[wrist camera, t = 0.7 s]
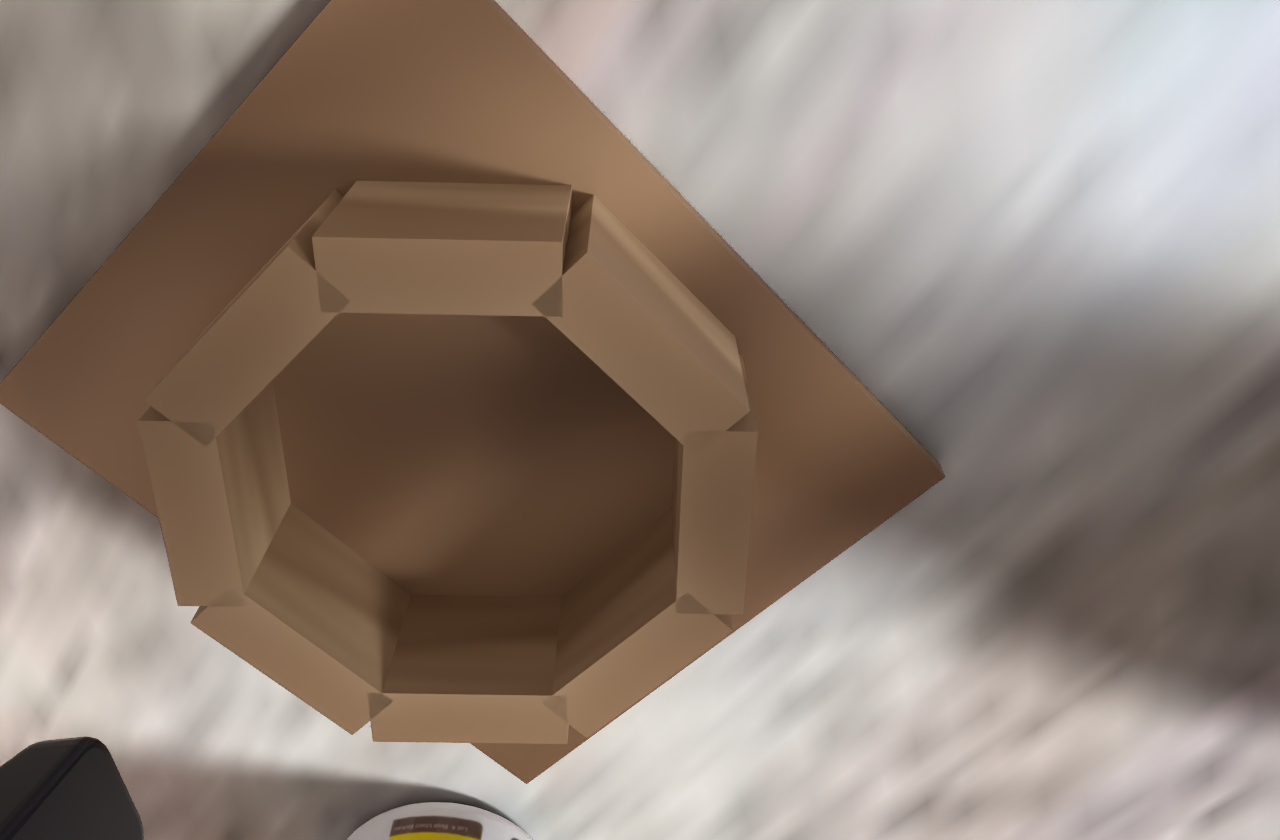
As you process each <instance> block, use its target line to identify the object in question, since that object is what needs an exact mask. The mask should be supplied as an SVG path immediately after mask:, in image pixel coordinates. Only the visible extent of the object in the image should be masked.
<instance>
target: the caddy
mask: <svg viewBox="0 0 1280 840" xmlns="http://www.w3.org/2000/svg"><path fill="white" fill-rule="evenodd" d="M0 404H2V405H3V406H4V407H6V408H7V409H8V410H10V411H11V412H13V413H14V414H15V415H17V416H18V417H20V418H21V419H22V420H24V421H25V422H26V423H28V424H29V425H31V426H32V427H33V428H35V429H36V430H37V431H39V432H40V433H42V434H43V435H44V436H46V437H47V438H49V439H50V440H51V441H53V442H54V443H55V444H57V445H58V446H60V447H61V448H62V449H64V450H65V451H67V452H68V453H69V454H71V455H72V456H73V457H75V458H76V459H78V460H79V461H80V462H82V463H83V464H85V465H86V466H87V467H89V468H90V469H91V470H93V471H94V472H96V473H97V474H98V475H100V476H101V477H103V478H104V479H105V480H107V481H108V482H109V483H111V484H112V485H114V486H115V487H116V488H118V489H119V490H120V491H122V492H123V493H125V494H126V495H127V496H129V497H130V498H132V499H133V500H134V501H136V502H137V503H138V504H140V505H141V506H143V507H144V508H145V509H147V510H148V511H150V512H151V513H152V514H154V515H155V516H156V517H158V518H159V520H160V525H161V529H162V534H163V539H164V543H165V548H166V553H167V557H168V562H169V567H170V571H171V576H172V580H173V585H174V590H175V594H176V599H177V604H178V606H200V607H199V609H198V610H197V612H196V614H195V616H194V618H193V619H192V621H191V624H193V625H194V626H196V627H197V628H198V629H200V630H201V631H203V632H204V633H206V634H207V635H209V636H210V637H211V638H213V639H214V640H216V641H217V642H219V643H220V644H222V645H223V646H224V647H226V648H227V649H229V650H230V651H232V652H233V653H235V654H236V655H237V656H239V657H240V658H242V659H243V660H245V661H246V662H248V663H249V664H250V665H252V666H253V667H255V668H256V669H258V670H259V671H261V672H262V673H263V674H265V675H266V676H268V677H269V678H271V679H272V680H274V681H275V682H276V683H278V684H279V685H281V686H282V687H284V688H285V689H287V690H288V691H289V692H291V693H292V694H294V695H295V696H297V697H298V698H300V699H301V700H302V701H304V702H305V703H307V704H308V705H310V706H311V707H313V708H314V709H315V710H317V711H318V712H320V713H321V714H323V715H324V716H326V717H327V718H328V719H330V720H331V721H333V722H334V723H336V724H337V725H339V726H340V727H341V728H343V729H344V730H346V731H347V732H349V733H350V734H352V735H353V734H354V733H355V732H357V731H358V730H359V729H360V728H362V727H363V726H364V725H365V724H366V723H368V722H369V721H371V729H372V738H373V741H378V742H451V743H470V744H472V745H473V746H475V747H476V748H477V749H479V750H480V751H482V752H483V753H484V754H486V755H487V756H488V757H490V758H491V759H493V760H494V761H495V762H497V763H498V764H500V765H501V766H502V767H504V768H505V769H506V770H508V771H509V772H511V773H512V774H513V775H515V776H516V777H518V778H519V779H520V780H522V781H523V782H524V783H526V784H527V783H529V782H530V781H531V780H533V779H534V778H536V777H537V776H538V775H540V774H541V773H542V772H544V771H545V770H546V769H548V768H549V767H551V766H552V765H553V764H555V763H556V762H557V761H559V760H560V759H561V758H563V757H564V756H566V755H567V754H568V753H570V752H571V751H572V750H574V749H575V748H576V747H578V746H579V745H581V744H582V743H583V742H585V741H586V740H587V739H589V738H590V737H591V736H593V735H594V734H596V733H597V732H598V731H600V730H601V729H602V728H604V727H605V726H606V725H608V724H609V723H611V722H612V721H613V720H615V719H616V718H617V717H619V716H620V715H621V714H623V713H624V712H626V711H627V710H628V709H630V708H631V707H632V706H634V705H635V704H636V703H638V702H639V701H641V700H642V699H643V698H645V697H646V696H647V695H649V694H650V693H651V692H653V691H654V690H656V689H657V688H658V687H660V686H661V685H662V684H664V683H665V682H666V681H668V680H669V679H671V678H672V677H673V676H675V675H676V674H677V673H679V672H680V671H681V670H683V669H684V668H685V667H687V666H688V665H690V664H691V663H692V662H694V661H695V660H696V659H698V658H699V657H700V656H702V655H703V654H705V653H706V652H707V651H709V650H710V649H711V648H713V647H714V646H715V645H717V644H718V643H720V642H721V641H722V640H724V639H725V638H726V637H728V636H729V635H730V634H732V633H733V632H735V631H736V630H737V629H739V628H740V627H741V626H743V625H744V624H745V623H747V622H748V621H750V620H751V619H752V618H754V617H755V616H756V615H758V614H759V613H760V612H762V611H763V610H765V609H766V608H767V607H769V606H770V605H771V604H773V603H774V602H775V601H777V600H778V599H780V598H781V597H782V596H784V595H785V594H786V593H788V592H789V591H790V590H792V589H793V588H795V587H796V586H797V585H799V584H800V583H801V582H803V581H804V580H805V579H807V578H808V577H810V576H811V575H812V574H814V573H815V572H816V571H818V570H819V569H820V568H822V567H823V566H824V565H826V564H827V563H829V562H830V561H831V560H833V559H834V558H835V557H837V556H838V555H839V554H841V553H842V552H844V551H845V550H846V549H848V548H849V547H850V546H852V545H853V544H854V543H856V542H857V541H859V540H860V539H861V538H863V537H864V536H865V535H867V534H868V533H869V532H871V531H872V530H874V529H875V528H876V527H878V526H879V525H880V524H882V523H883V522H884V521H886V520H887V519H889V518H890V517H891V516H893V515H894V514H895V513H897V512H898V511H899V510H901V509H902V508H904V507H905V506H906V505H908V504H909V503H910V502H912V501H913V500H914V499H916V498H917V497H919V496H920V495H921V494H923V493H924V492H925V491H927V490H928V489H929V488H931V487H932V486H934V485H935V484H936V483H938V482H939V481H940V480H942V479H943V478H944V477H945V475H944V473H943V471H942V469H941V466H940V464H939V463H938V462H937V461H936V460H935V459H934V458H933V457H932V456H931V455H930V454H929V453H928V452H927V451H926V450H925V449H924V448H923V446H922V445H921V444H920V443H919V442H918V441H917V440H916V439H915V438H914V437H913V436H912V435H911V434H910V433H909V432H908V431H907V430H906V429H905V428H904V427H903V426H902V425H901V424H900V423H899V421H898V420H897V419H896V418H895V417H894V416H893V415H892V414H891V413H890V412H889V411H888V410H887V409H886V408H885V407H884V406H883V405H882V404H881V403H880V402H879V401H878V400H877V399H876V398H875V396H874V395H873V394H872V393H871V392H870V391H869V390H868V389H867V388H866V387H865V386H864V385H863V384H862V383H861V382H860V381H859V380H858V379H857V378H856V377H855V376H854V375H853V374H852V373H851V371H850V370H849V369H848V368H847V367H846V366H845V365H844V364H843V363H842V362H841V361H840V360H839V359H838V358H837V357H836V356H835V355H834V354H833V353H832V352H831V351H830V350H829V349H828V348H827V346H826V345H825V344H824V343H823V342H822V341H821V340H820V339H819V338H818V337H817V336H816V335H815V334H814V333H813V332H812V331H811V330H810V329H809V328H808V327H807V326H806V325H805V324H804V322H803V321H802V320H801V319H800V318H799V317H798V316H797V315H796V314H795V313H794V312H793V311H792V310H791V309H790V308H789V307H788V306H787V305H786V304H785V303H784V302H783V301H782V300H781V299H780V297H779V296H778V295H777V294H776V293H775V292H774V291H773V290H772V289H771V288H770V287H769V286H768V285H767V284H766V283H765V282H764V281H763V280H762V279H761V278H760V277H759V276H758V275H757V274H756V272H755V271H754V270H753V269H752V268H751V267H750V266H749V265H748V264H747V263H746V262H745V261H744V260H743V259H742V258H741V257H740V256H739V255H738V254H737V253H736V252H735V251H734V250H733V249H732V247H731V246H730V245H729V244H728V243H727V242H726V241H725V240H724V239H723V238H722V237H721V236H720V235H719V234H718V233H717V232H716V231H715V230H714V229H713V228H712V227H711V226H710V225H709V224H708V222H707V221H706V220H705V219H704V218H703V217H702V216H701V215H700V214H699V213H698V212H697V211H696V210H695V209H694V208H693V207H692V206H691V205H690V204H689V203H688V202H687V201H686V200H685V199H684V197H683V196H682V195H681V194H680V193H679V192H678V191H677V190H676V189H675V188H674V187H673V186H672V185H671V184H670V183H669V182H668V181H667V180H666V179H665V178H664V177H663V176H662V175H661V174H660V172H659V171H658V170H657V169H656V168H655V167H654V166H653V165H652V164H651V163H650V162H649V161H648V160H647V159H646V158H645V157H644V156H643V155H642V154H641V153H640V152H639V151H638V150H637V148H636V147H635V146H634V145H633V144H632V143H631V142H630V141H629V140H628V139H627V138H626V137H625V136H624V135H623V134H622V133H621V132H620V131H619V130H618V129H617V128H616V127H615V126H614V125H613V123H612V122H611V121H610V120H609V119H608V118H607V117H606V116H605V115H604V114H603V113H602V112H601V111H600V110H599V109H598V108H597V107H596V106H595V105H594V104H593V103H592V102H591V101H590V100H589V98H588V97H587V96H586V95H585V94H584V93H583V92H582V91H581V90H580V89H579V88H578V87H577V86H576V85H575V84H574V83H573V82H572V81H571V80H570V79H569V78H568V77H567V76H566V75H565V73H564V72H563V71H562V70H561V69H560V68H559V67H558V66H557V65H556V64H555V63H554V62H553V61H552V60H551V59H550V58H549V57H548V56H547V55H546V54H545V53H544V52H543V51H542V50H541V48H540V47H539V46H538V45H537V44H536V43H535V42H534V41H533V40H532V39H531V38H530V37H529V36H528V35H527V34H526V33H525V32H524V31H523V30H522V29H521V28H520V27H519V26H518V25H517V23H516V22H515V21H514V20H513V19H512V18H511V17H510V16H509V15H508V14H507V13H506V12H505V11H504V10H503V9H502V8H501V7H500V6H499V5H498V4H497V3H496V2H495V1H494V0H331V1H330V2H329V3H328V4H327V5H326V7H325V8H324V9H323V10H322V11H321V12H320V14H319V15H318V16H317V17H316V18H315V19H314V20H313V22H312V23H311V24H310V25H309V26H308V27H307V29H306V30H305V31H304V32H303V33H302V34H301V36H300V37H299V38H298V39H297V40H296V41H295V43H294V44H293V45H292V46H291V47H290V48H289V49H288V51H287V52H286V53H285V54H284V55H283V56H282V58H281V59H280V60H279V61H278V62H277V63H276V65H275V66H274V67H273V68H272V69H271V70H270V71H269V73H268V74H267V75H266V76H265V77H264V78H263V80H262V81H261V82H260V83H259V84H258V85H257V87H256V88H255V89H254V90H253V91H252V92H251V94H250V95H249V96H248V97H247V98H246V99H245V100H244V102H243V103H242V104H241V105H240V106H239V107H238V109H237V110H236V111H235V112H234V113H233V114H232V116H231V117H230V118H229V119H228V120H227V121H226V122H225V124H224V125H223V126H222V127H221V128H220V129H219V131H218V132H217V133H216V134H215V135H214V136H213V138H212V139H211V140H210V141H209V142H208V143H207V145H206V146H205V147H204V148H203V149H202V150H201V151H200V153H199V154H198V155H197V156H196V157H195V158H194V160H193V161H192V162H191V163H190V164H189V165H188V167H187V168H186V169H185V170H184V171H183V172H182V173H181V175H180V176H179V177H178V178H177V179H176V180H175V182H174V183H173V184H172V185H171V186H170V187H169V189H168V190H167V191H166V192H165V193H164V194H163V196H162V197H161V198H160V199H159V200H158V201H157V202H156V204H155V205H154V206H153V207H152V208H151V209H150V211H149V212H148V213H147V214H146V215H145V216H144V218H143V219H142V220H141V221H140V222H139V223H138V224H137V226H136V227H135V228H134V229H133V230H132V231H131V233H130V234H129V235H128V236H127V237H126V238H125V240H124V241H123V242H122V243H121V244H120V245H119V247H118V248H117V249H116V250H115V251H114V252H113V253H112V255H111V256H110V257H109V258H108V259H107V260H106V262H105V263H104V264H103V265H102V266H101V267H100V269H99V270H98V271H97V272H96V273H95V274H94V275H93V277H92V278H91V279H90V280H89V281H88V282H87V284H86V285H85V286H84V287H83V288H82V289H81V291H80V292H79V293H78V294H77V295H76V296H75V298H74V299H73V300H72V301H71V302H70V303H69V304H68V306H67V307H66V308H65V309H64V310H63V311H62V313H61V314H60V315H59V316H58V317H57V318H56V320H55V321H54V322H53V323H52V324H51V325H50V326H49V328H48V329H47V330H46V331H45V332H44V333H43V335H42V336H41V337H40V338H39V339H38V340H37V342H36V343H35V344H34V345H33V346H32V347H31V349H30V350H29V351H28V352H27V353H26V354H25V355H24V357H23V358H22V359H21V360H20V361H19V362H18V364H17V365H16V366H15V367H14V368H13V369H12V371H11V372H10V373H9V374H8V375H7V376H6V377H5V379H4V380H3V381H2V382H1V383H0Z"/></svg>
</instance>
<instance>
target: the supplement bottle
mask: <svg viewBox="0 0 1280 840" xmlns="http://www.w3.org/2000/svg"><path fill="white" fill-rule="evenodd" d="M347 840H533V839H532V838H531V837H530V836H529V835H527V834H526V833H525V832H524V831H523V830H522V829H520V828H519V827H518V826H516V825H515V824H513V823H512V822H510V821H508V820H507V819H505V818H503V817H501V816H499V815H496V814H494V813H492V812H489V811H487V810H483V809H480V808H477V807H473V806H469V805H463V804H458V803H447V802H426V803H416V804H409V805H405V806H401V807H398V808H394V809H392V810H389V811H386V812H384V813H382V814H380V815H378V816H376V817H374V818H372V819H371V820H369V821H368V822H366V823H364V824H363V825H362V826H360V827H359V828H358V829H357V830H356V831H354V832H353V833H352V834H351V835H350V836H349V838H348V839H347Z"/></svg>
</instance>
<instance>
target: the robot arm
mask: <svg viewBox="0 0 1280 840" xmlns="http://www.w3.org/2000/svg"><path fill="white" fill-rule="evenodd" d="M0 840H144V835H143V827H142V822H141V819H140V816H139V814H138V812H137V809H136V807H135V805H134V803H133V801H132V799H131V797H130V795H129V792H128V790H127V788H126V786H125V784H124V782H123V780H122V778H121V775H120V773H119V771H118V769H117V767H116V765H115V763H114V761H113V758H112V756H111V754H110V752H109V750H108V749H107V747H106V746H105V745H104V744H103V743H102V742H100V741H99V740H98V739H96V738H91V737H77V738H66V739H56V740H46V741H42V742H37V743H35V744H32V745H30V746H29V747H27V748H26V749H24V750H23V751H21V752H20V753H19V754H17V755H16V756H14V757H13V758H12V759H10V760H9V761H8V762H6V763H5V764H3V765H2V766H1V767H0Z"/></svg>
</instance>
